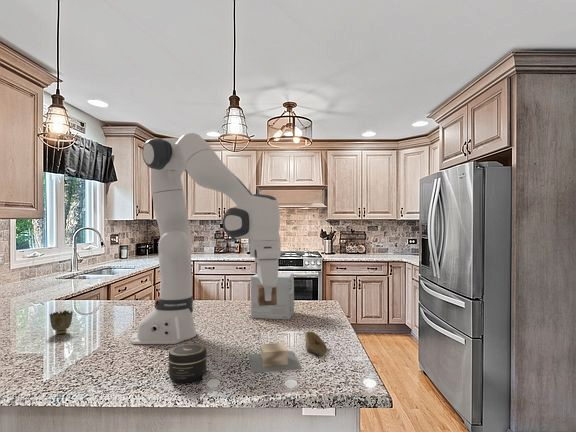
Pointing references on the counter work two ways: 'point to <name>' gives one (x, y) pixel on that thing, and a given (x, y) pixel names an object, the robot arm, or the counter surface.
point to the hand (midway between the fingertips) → (266, 298)
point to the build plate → (258, 366)
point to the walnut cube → (262, 300)
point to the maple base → (274, 354)
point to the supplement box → (284, 298)
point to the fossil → (315, 344)
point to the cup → (61, 321)
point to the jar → (187, 363)
